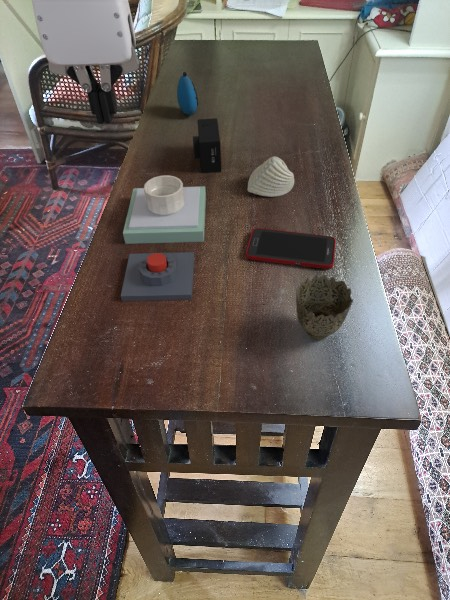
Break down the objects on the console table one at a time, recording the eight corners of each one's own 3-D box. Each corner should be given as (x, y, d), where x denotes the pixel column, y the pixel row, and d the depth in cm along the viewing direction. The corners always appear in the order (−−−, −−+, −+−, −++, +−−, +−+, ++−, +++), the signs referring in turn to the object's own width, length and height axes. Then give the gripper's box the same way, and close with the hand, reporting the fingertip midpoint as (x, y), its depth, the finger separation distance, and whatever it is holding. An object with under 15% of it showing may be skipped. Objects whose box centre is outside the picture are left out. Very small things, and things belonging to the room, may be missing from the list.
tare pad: (121, 301, 71) (118, 287, 69) (130, 258, 78) (127, 245, 76) (192, 299, 71) (190, 286, 69) (194, 257, 78) (193, 243, 76)
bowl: (145, 217, 81) (141, 197, 78) (149, 195, 86) (146, 175, 83) (183, 216, 81) (181, 196, 78) (185, 194, 86) (183, 174, 83)
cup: (290, 312, 69) (295, 273, 63) (340, 313, 68) (349, 274, 63) (292, 351, 64) (297, 314, 58) (346, 353, 63) (356, 315, 58)
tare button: (147, 273, 72) (145, 265, 71) (149, 260, 74) (147, 253, 73) (166, 272, 72) (165, 265, 71) (167, 260, 74) (166, 252, 73)
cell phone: (252, 231, 82) (252, 227, 82) (335, 241, 80) (336, 236, 79) (244, 259, 77) (244, 255, 76) (332, 270, 75) (333, 266, 74)
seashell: (308, 179, 89) (285, 175, 83) (279, 208, 94) (256, 206, 88) (287, 148, 92) (264, 142, 86) (260, 178, 97) (236, 174, 91)
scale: (125, 244, 81) (122, 230, 79) (135, 198, 91) (132, 185, 89) (204, 242, 81) (202, 228, 79) (205, 196, 90) (205, 183, 88)
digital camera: (194, 149, 104) (191, 119, 98) (218, 147, 104) (217, 117, 99) (195, 173, 96) (193, 142, 91) (221, 171, 97) (220, 140, 91)
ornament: (203, 118, 114) (200, 76, 106) (185, 121, 112) (181, 79, 105) (191, 105, 119) (188, 64, 112) (175, 108, 118) (170, 67, 110)
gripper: (145, -68, 48) (166, 104, 62) (5, -63, 49) (56, 108, 62) (135, -54, 43) (161, 131, 57) (-21, -48, 44) (41, 134, 57)
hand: (106, 118), depth 59 cm, fingers closed
